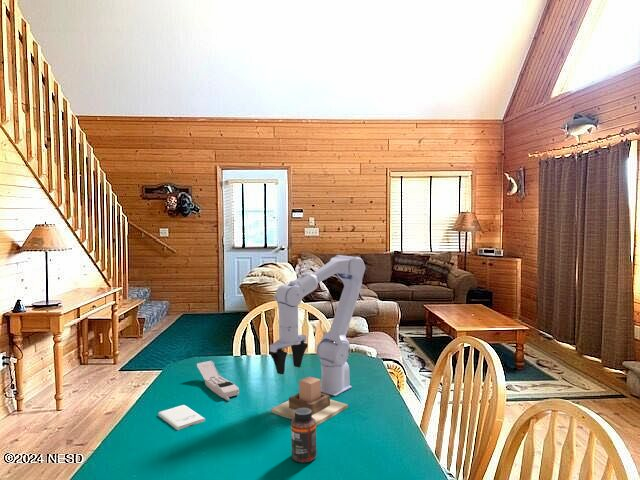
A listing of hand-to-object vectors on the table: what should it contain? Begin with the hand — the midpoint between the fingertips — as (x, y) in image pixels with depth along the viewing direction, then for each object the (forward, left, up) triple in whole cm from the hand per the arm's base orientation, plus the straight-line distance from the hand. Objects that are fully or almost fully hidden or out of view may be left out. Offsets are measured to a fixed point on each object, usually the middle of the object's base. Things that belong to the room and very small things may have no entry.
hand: (289, 370), depth 145 cm
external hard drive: (+26, -18, -11) cm, 33 cm away
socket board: (0, +8, -10) cm, 13 cm away
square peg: (0, +8, -9) cm, 12 cm away
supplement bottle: (+21, +24, -11) cm, 33 cm away
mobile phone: (+4, -27, -11) cm, 30 cm away
